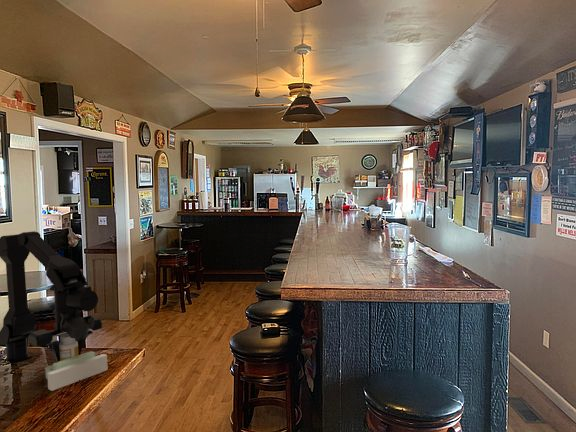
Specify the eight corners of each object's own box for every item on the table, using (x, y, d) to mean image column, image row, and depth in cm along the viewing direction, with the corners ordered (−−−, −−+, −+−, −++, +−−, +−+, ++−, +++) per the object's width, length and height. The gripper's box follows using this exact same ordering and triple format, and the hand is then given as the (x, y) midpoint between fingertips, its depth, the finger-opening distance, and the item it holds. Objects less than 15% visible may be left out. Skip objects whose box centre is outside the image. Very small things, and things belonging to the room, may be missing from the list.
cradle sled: (45, 378, 121) (44, 359, 121) (83, 364, 130) (82, 347, 129) (57, 384, 117) (56, 365, 116) (95, 370, 126) (95, 352, 125)
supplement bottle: (73, 362, 128) (71, 330, 127) (82, 366, 125) (81, 334, 124) (54, 368, 123) (53, 335, 123) (64, 373, 120) (62, 339, 119)
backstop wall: (48, 388, 115) (47, 372, 114) (103, 368, 128) (103, 353, 127) (51, 391, 114) (50, 374, 113) (107, 370, 126) (107, 355, 126)
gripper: (45, 319, 110) (47, 378, 111) (111, 303, 125) (113, 355, 126) (26, 312, 117) (29, 367, 118) (91, 298, 132) (93, 347, 133)
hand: (68, 359), depth 124 cm, fingers closed on supplement bottle, 5 cm apart
